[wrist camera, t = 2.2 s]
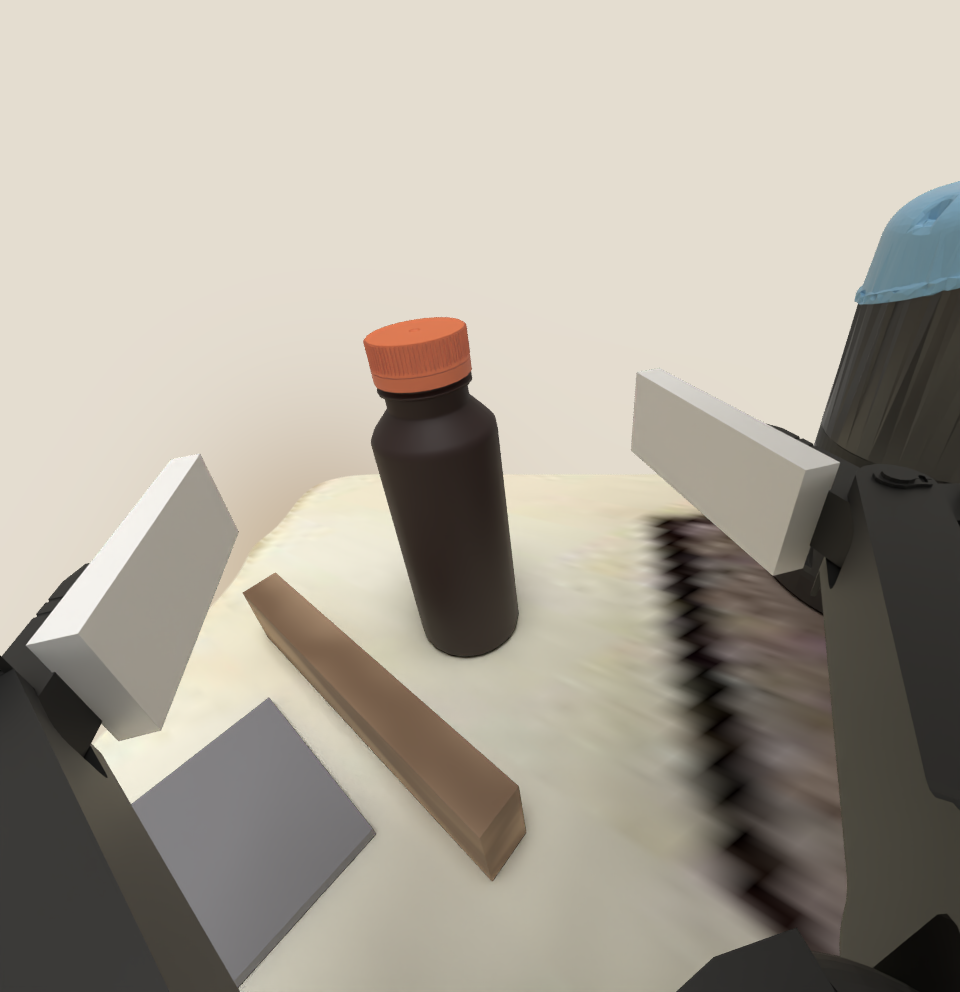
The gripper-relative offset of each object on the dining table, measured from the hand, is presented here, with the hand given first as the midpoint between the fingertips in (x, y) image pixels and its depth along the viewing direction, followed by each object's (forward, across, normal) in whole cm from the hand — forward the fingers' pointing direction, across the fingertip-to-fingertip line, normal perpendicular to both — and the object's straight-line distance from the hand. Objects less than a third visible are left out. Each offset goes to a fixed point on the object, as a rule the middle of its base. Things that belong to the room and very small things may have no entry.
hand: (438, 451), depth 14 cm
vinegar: (+10, +1, -19) cm, 21 cm away
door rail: (+5, -7, -19) cm, 20 cm away
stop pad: (0, -14, -19) cm, 23 cm away
